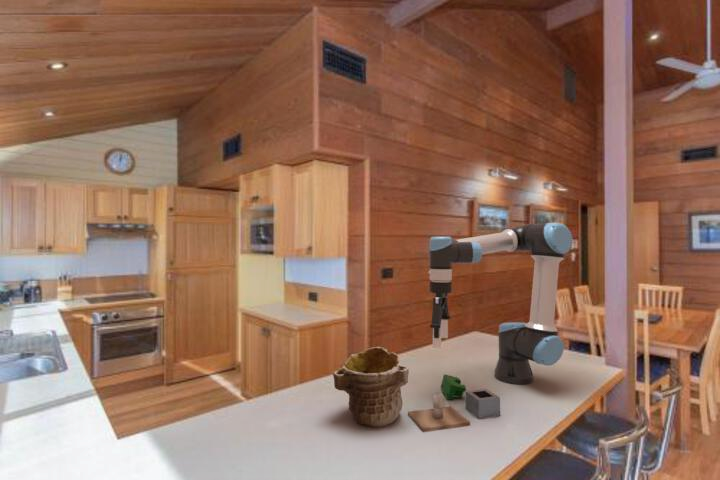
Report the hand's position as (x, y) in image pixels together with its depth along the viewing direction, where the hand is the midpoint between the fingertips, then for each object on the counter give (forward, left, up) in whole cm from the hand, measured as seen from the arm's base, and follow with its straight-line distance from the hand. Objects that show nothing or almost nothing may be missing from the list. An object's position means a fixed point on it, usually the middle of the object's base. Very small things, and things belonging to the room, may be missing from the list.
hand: (440, 342), depth 136 cm
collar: (-12, +8, -22) cm, 26 cm away
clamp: (-10, -8, -23) cm, 26 cm away
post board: (+5, +9, -22) cm, 25 cm away
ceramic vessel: (+26, +2, -23) cm, 35 cm away
